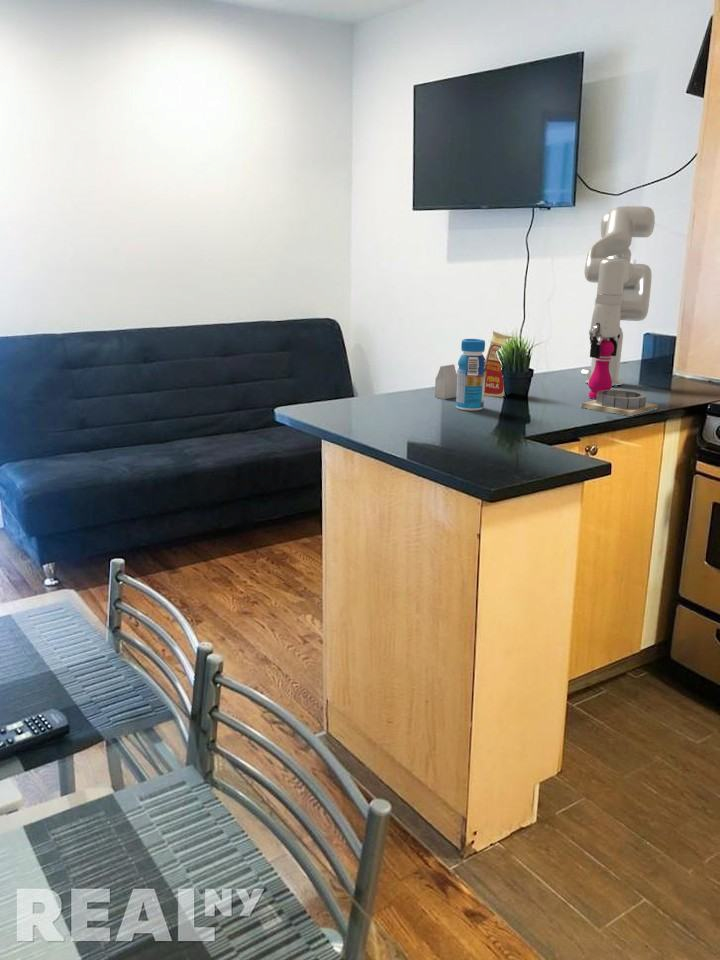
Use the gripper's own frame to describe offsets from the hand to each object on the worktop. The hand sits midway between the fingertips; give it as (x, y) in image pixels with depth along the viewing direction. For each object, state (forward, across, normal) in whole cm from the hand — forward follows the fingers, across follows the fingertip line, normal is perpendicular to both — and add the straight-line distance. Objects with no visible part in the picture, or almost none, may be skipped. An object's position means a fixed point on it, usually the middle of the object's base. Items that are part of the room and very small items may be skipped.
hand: (602, 356), depth 254 cm
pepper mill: (+14, -1, 0) cm, 14 cm away
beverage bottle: (+14, +44, -16) cm, 49 cm away
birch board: (+14, +9, +12) cm, 21 cm away
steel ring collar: (+12, +9, +13) cm, 20 cm away
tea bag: (+14, +36, -32) cm, 51 cm away
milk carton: (+14, +19, -26) cm, 35 cm away
